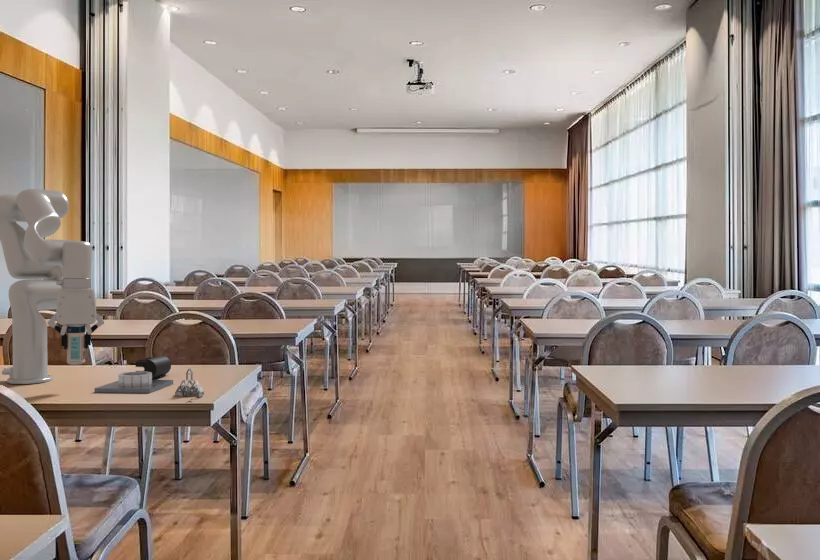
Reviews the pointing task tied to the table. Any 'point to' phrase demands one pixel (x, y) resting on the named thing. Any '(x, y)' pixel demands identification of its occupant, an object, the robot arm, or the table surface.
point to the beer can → (75, 344)
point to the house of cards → (190, 390)
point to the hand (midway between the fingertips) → (76, 347)
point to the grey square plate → (134, 383)
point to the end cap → (155, 365)
